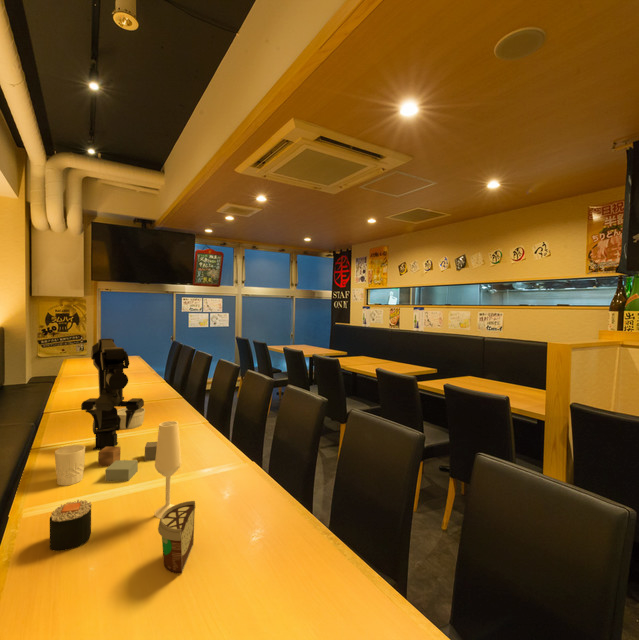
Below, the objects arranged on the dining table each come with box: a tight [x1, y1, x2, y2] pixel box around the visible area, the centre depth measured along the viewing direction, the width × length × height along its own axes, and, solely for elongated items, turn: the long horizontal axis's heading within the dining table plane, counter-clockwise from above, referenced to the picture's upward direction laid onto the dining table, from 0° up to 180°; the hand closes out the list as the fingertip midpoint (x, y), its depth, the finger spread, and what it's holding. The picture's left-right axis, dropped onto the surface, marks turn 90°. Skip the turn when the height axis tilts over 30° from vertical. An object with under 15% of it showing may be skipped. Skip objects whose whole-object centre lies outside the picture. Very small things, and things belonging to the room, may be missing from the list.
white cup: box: [54, 444, 86, 486], centre depth 116 cm, size 8×8×10 cm
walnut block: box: [97, 446, 121, 467], centre depth 129 cm, size 5×5×5 cm
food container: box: [157, 500, 196, 575], centre depth 81 cm, size 12×6×10 cm, turn 5°
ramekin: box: [117, 407, 146, 430], centre depth 170 cm, size 13×13×7 cm
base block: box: [104, 459, 139, 482], centre depth 120 cm, size 7×7×4 cm
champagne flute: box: [154, 420, 183, 519], centre depth 100 cm, size 7×7×24 cm
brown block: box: [144, 441, 157, 462], centre depth 135 cm, size 5×5×5 cm
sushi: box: [49, 499, 93, 552], centre depth 87 cm, size 8×8×8 cm
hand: (113, 428), depth 130 cm, fingers open, 9 cm apart
